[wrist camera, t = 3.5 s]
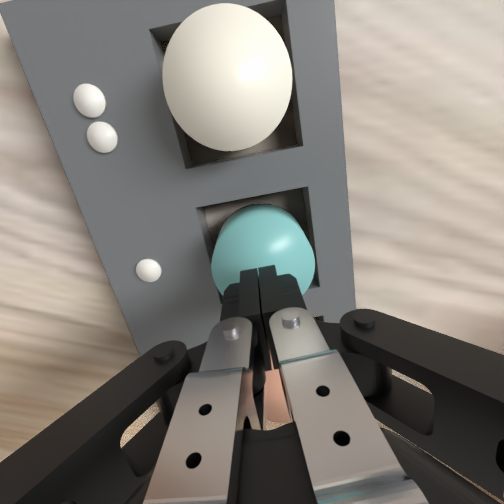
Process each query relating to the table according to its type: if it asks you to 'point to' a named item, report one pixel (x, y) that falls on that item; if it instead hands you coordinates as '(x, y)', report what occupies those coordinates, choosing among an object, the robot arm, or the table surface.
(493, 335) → the table surface
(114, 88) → the button panel
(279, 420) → the terracotta button
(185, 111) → the cream button
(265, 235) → the teal button
